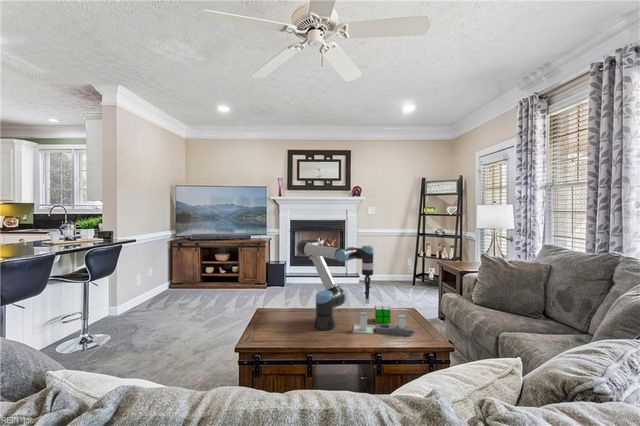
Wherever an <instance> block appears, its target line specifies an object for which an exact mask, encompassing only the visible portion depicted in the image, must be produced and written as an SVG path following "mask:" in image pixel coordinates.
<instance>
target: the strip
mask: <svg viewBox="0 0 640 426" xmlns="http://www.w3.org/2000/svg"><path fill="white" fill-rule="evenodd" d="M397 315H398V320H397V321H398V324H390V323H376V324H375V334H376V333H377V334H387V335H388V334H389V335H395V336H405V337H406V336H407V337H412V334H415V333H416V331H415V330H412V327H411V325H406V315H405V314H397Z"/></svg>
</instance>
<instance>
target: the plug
mask: <svg viewBox="0 0 640 426" xmlns="http://www.w3.org/2000/svg"><path fill="white" fill-rule="evenodd" d="M367 313H368V312H365V311H360V315H359V319H360V321H359V324H360V330H361V331H367V325H368V314H367Z"/></svg>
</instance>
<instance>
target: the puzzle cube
mask: <svg viewBox="0 0 640 426" xmlns="http://www.w3.org/2000/svg"><path fill="white" fill-rule="evenodd" d="M374 319H375V323H376V324H391V309H390V305H384V304H383V305H382V304H381V305H380V304H379V305H377V304H375V305H374Z"/></svg>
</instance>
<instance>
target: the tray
mask: <svg viewBox="0 0 640 426" xmlns="http://www.w3.org/2000/svg"><path fill="white" fill-rule="evenodd" d="M374 331H375V325H372V324H367V331H361V330H360V323H359V324H358V323H354V326H353V330H352V333H354V334H355V333H356V334H365V335H366V334H367V335H374V334H375V333H374Z"/></svg>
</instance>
